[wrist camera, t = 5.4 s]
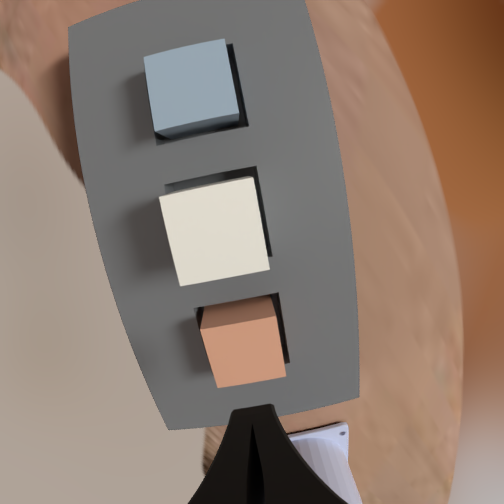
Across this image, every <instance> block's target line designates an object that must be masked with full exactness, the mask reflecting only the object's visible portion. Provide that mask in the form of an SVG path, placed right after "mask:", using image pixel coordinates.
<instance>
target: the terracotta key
mask: <svg viewBox="0 0 504 504" xmlns="http://www.w3.org/2000/svg"><path fill="white" fill-rule="evenodd" d="M200 331H201V335H202V338H203V342H204V345H205V348H206V352H207V355H208V359H209V362H210V365H211V368H212V372H213V375H214V378H215V381H216V384H217V388H222V387H229V386H235V385H241V384H247V383H253V382H259V381H265V380H270V379H275V378H280V377H285V376H286V371H285V365H284V359H283V353H282V347H281V342H280V336H279V330H278V324H277V318H276V314H275V310H274V307H273V303H272V300H271V296H270V294H267V295H262V296H257V297H252V298H246V299H241V300H236V301H230V302H225V303H219V304H213V305H208V306H205V307H204V312H203V317H202V322H201V327H200Z"/></svg>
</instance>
